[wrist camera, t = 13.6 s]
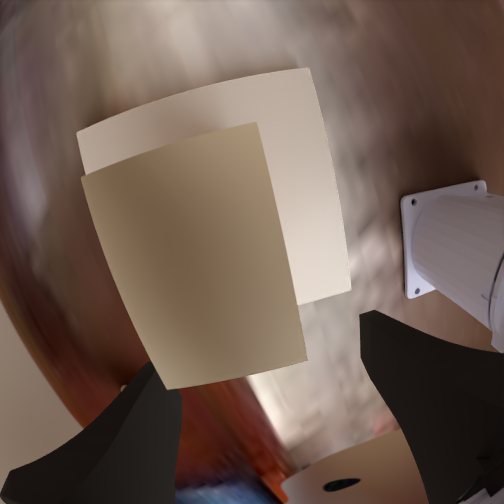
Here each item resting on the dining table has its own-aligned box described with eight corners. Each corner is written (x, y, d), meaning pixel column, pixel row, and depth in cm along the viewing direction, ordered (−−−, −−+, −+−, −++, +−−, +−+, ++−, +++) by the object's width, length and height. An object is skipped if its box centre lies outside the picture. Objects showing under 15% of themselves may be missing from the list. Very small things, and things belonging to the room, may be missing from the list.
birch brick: (243, 139, 10) (256, 121, 6) (278, 285, 12) (307, 360, 7) (141, 168, 10) (80, 177, 6) (186, 308, 12) (167, 389, 7)
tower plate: (302, 74, 15) (309, 66, 14) (343, 281, 20) (352, 290, 18) (86, 134, 15) (75, 132, 14) (150, 328, 20) (145, 340, 18)
